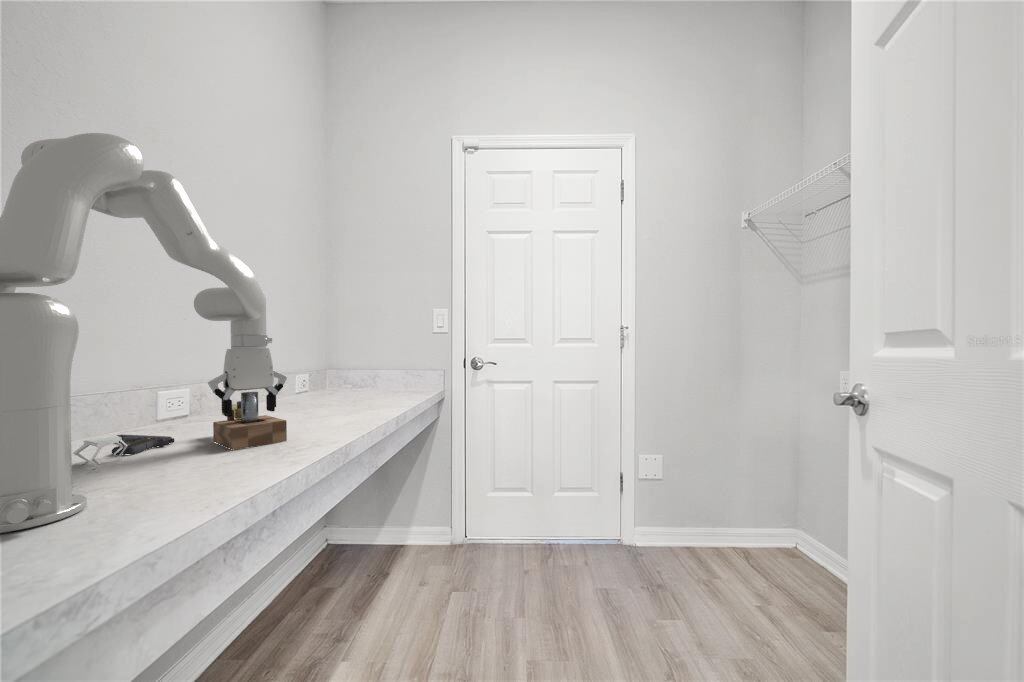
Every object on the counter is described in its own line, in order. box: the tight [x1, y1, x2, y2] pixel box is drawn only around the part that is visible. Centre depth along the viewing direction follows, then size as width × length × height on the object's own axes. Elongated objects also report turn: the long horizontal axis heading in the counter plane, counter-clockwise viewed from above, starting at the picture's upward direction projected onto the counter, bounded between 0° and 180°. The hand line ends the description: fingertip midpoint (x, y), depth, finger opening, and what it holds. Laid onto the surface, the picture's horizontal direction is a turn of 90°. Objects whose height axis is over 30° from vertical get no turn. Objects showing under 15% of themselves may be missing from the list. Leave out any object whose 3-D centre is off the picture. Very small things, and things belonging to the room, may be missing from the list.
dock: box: [212, 410, 288, 451], centre depth 112 cm, size 12×12×8 cm
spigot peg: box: [240, 391, 259, 424], centre depth 111 cm, size 4×4×12 cm
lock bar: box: [221, 400, 241, 419], centre depth 117 cm, size 10×3×4 cm, turn 50°
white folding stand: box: [72, 434, 128, 470], centre depth 93 cm, size 12×8×5 cm
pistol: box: [111, 433, 175, 455], centre depth 107 cm, size 2×19×12 cm
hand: (250, 413), depth 111 cm, fingers open, 9 cm apart
